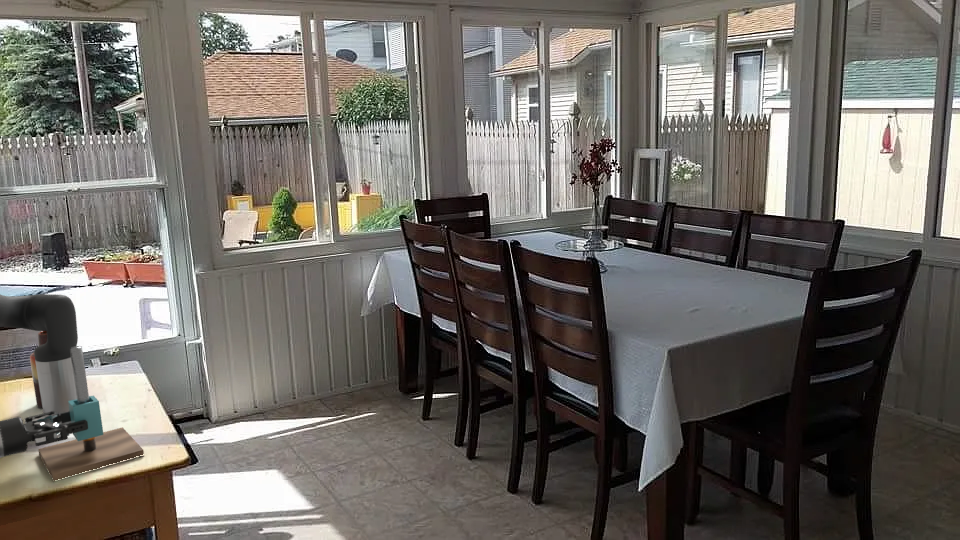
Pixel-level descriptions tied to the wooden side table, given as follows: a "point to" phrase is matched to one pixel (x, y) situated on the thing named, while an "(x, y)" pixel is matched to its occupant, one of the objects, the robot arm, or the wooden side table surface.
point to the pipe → (81, 387)
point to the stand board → (89, 454)
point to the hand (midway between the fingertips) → (83, 418)
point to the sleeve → (87, 418)
